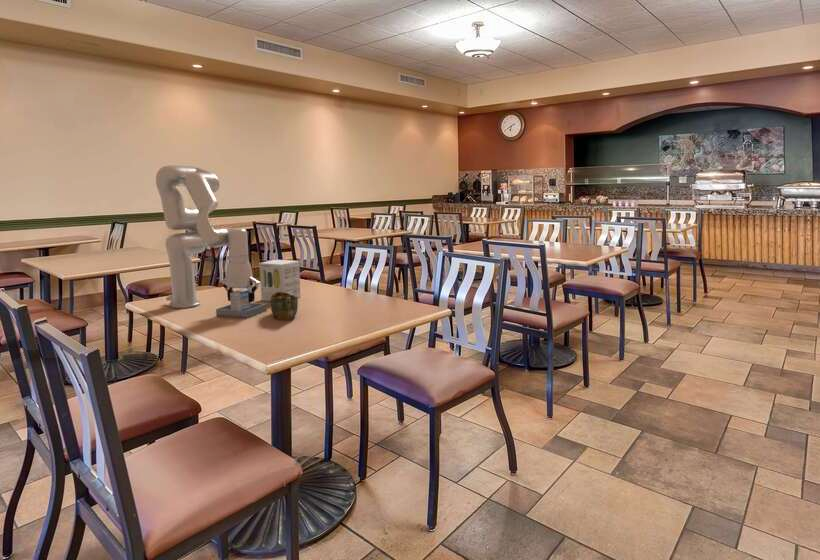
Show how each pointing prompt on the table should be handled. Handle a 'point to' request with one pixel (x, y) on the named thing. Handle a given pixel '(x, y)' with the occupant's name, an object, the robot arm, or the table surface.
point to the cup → (284, 305)
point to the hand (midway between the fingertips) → (241, 301)
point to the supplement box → (279, 278)
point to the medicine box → (240, 300)
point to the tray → (249, 313)
